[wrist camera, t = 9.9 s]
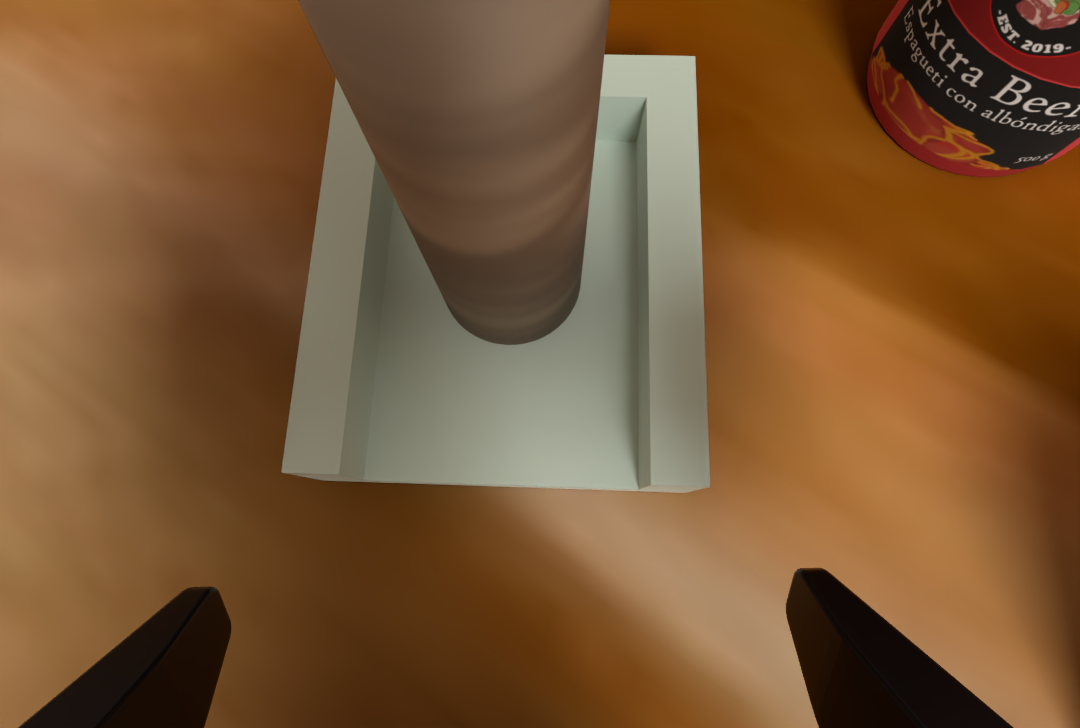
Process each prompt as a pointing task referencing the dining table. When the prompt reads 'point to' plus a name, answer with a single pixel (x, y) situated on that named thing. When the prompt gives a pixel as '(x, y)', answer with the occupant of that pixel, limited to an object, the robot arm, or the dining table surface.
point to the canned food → (979, 82)
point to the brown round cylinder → (481, 141)
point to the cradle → (525, 369)
